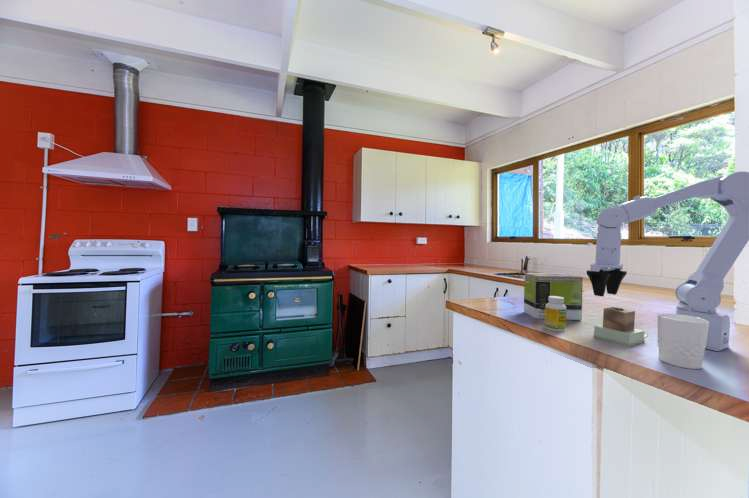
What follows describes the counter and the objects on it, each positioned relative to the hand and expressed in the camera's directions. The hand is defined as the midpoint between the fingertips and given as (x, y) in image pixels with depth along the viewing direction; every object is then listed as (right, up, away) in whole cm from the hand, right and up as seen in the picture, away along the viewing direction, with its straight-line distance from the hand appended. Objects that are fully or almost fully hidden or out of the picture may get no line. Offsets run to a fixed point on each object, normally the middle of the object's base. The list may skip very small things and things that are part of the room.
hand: (605, 294), depth 90 cm
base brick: (-3, -11, -8) cm, 14 cm away
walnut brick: (-3, -8, -8) cm, 12 cm away
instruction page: (+3, -11, -3) cm, 11 cm away
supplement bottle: (-15, -10, 0) cm, 18 cm away
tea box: (-7, -10, +15) cm, 20 cm away
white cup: (-2, -12, -24) cm, 26 cm away
